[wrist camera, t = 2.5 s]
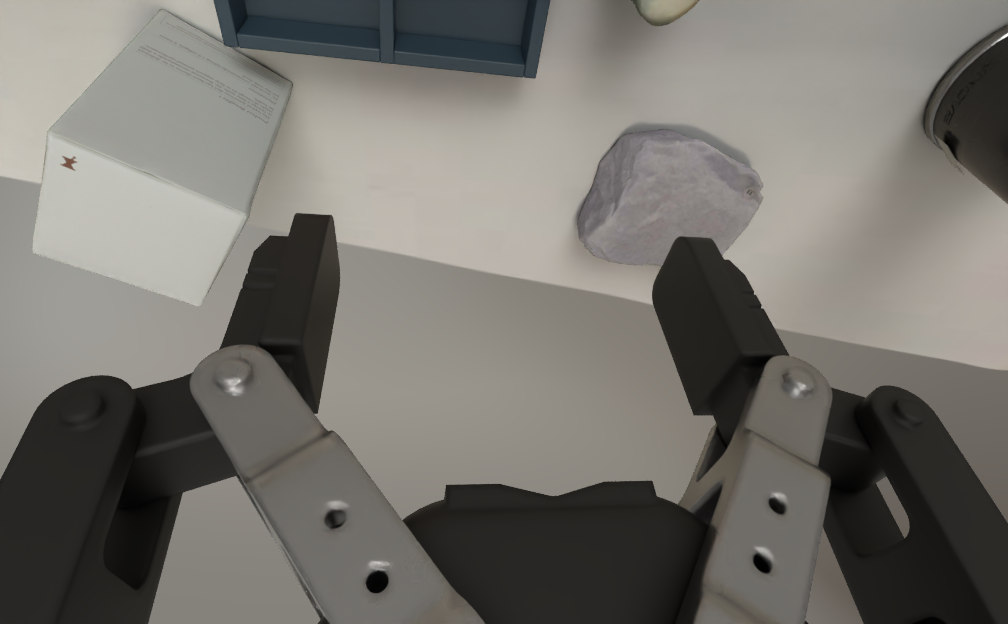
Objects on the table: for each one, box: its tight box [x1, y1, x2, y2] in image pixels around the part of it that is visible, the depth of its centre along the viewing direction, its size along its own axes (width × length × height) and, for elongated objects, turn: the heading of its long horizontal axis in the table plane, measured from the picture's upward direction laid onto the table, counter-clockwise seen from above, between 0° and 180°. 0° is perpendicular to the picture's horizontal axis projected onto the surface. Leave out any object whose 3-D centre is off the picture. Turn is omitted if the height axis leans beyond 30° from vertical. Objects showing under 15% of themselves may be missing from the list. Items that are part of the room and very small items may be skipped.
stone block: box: [577, 130, 763, 266], centre depth 39 cm, size 12×5×10 cm
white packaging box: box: [32, 9, 293, 307], centre depth 27 cm, size 7×7×13 cm
